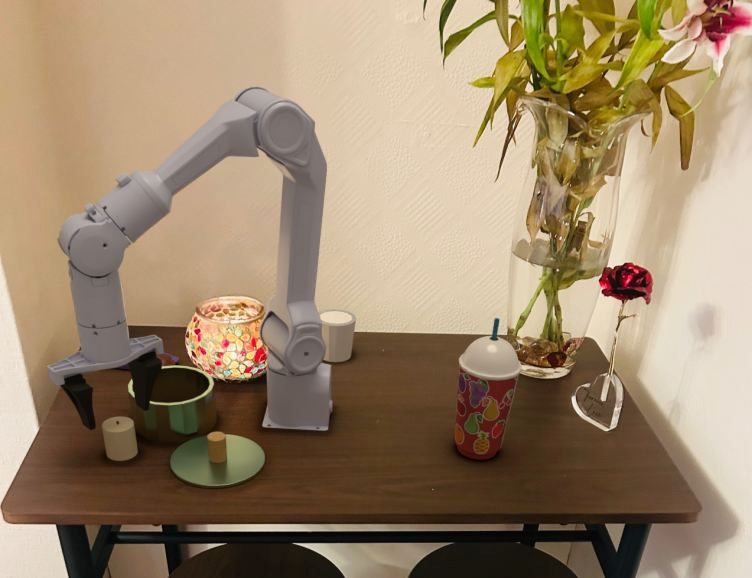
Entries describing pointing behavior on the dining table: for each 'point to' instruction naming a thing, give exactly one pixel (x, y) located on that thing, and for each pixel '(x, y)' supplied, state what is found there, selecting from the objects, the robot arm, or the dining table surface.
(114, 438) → the candle
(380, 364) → the dining table surface
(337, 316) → the white cup
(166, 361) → the snack package
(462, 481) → the dining table surface
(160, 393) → the tin
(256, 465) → the tin lid
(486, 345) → the smoothie
